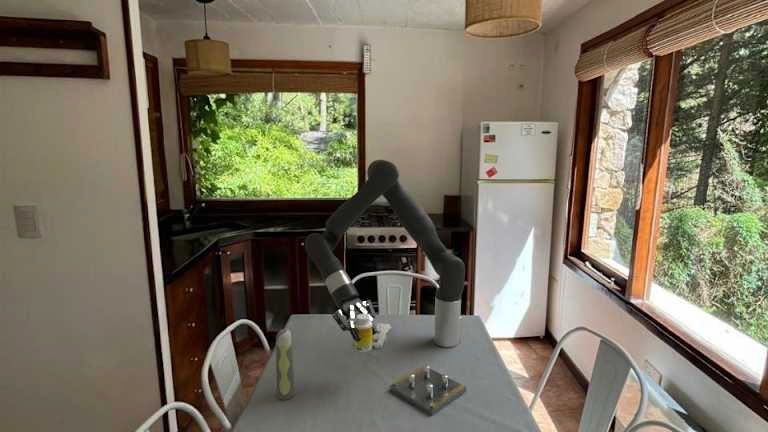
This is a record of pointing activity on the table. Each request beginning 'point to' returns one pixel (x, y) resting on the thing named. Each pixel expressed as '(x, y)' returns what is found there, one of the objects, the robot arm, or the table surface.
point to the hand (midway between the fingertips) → (367, 336)
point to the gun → (380, 335)
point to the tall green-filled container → (284, 365)
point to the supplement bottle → (363, 333)
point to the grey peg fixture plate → (428, 389)
